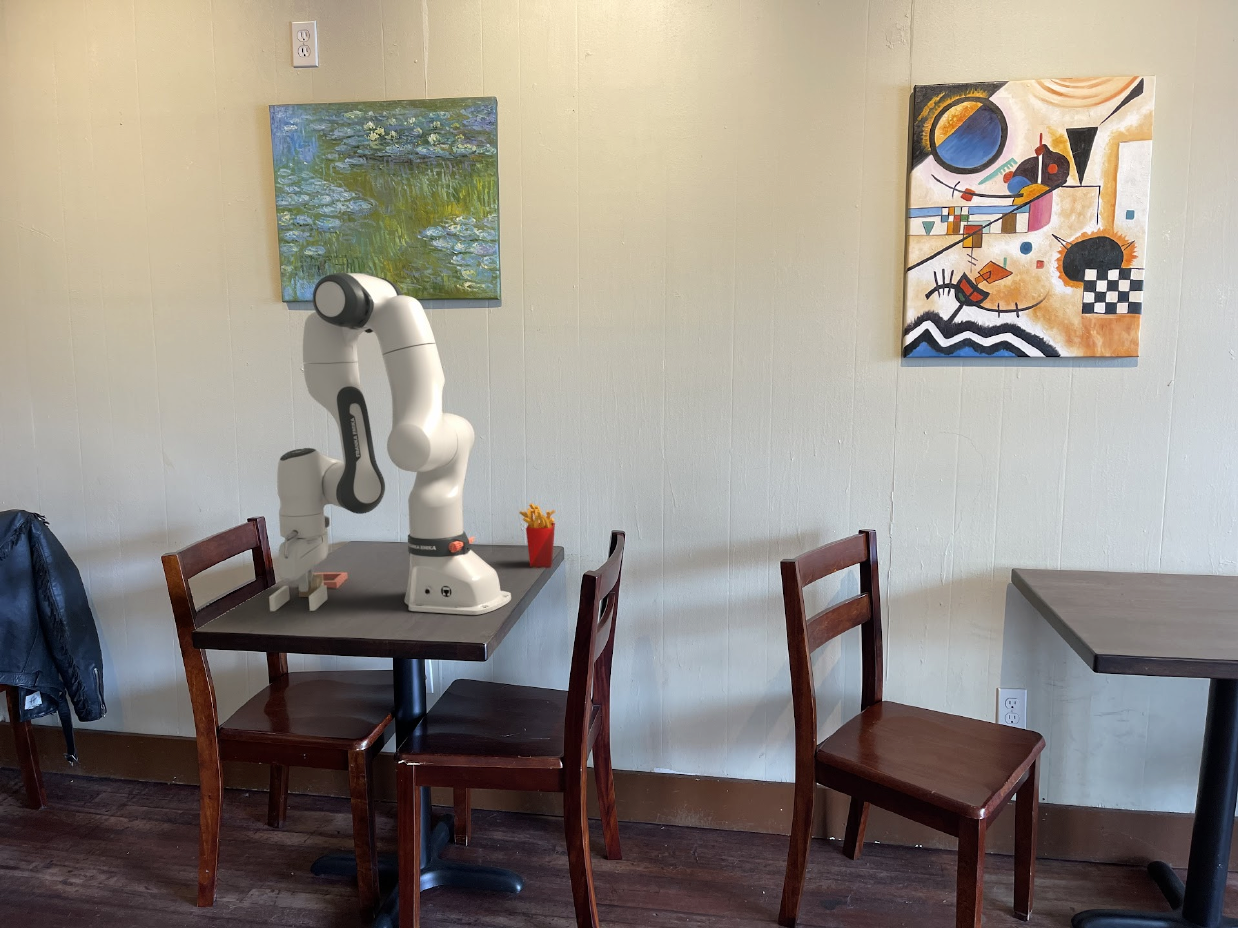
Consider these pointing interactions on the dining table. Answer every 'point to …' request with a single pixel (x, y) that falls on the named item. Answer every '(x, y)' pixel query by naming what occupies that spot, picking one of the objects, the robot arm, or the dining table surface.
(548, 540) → the french fries
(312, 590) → the beech block
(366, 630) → the dining table surface
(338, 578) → the frame
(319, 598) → the walled lane
